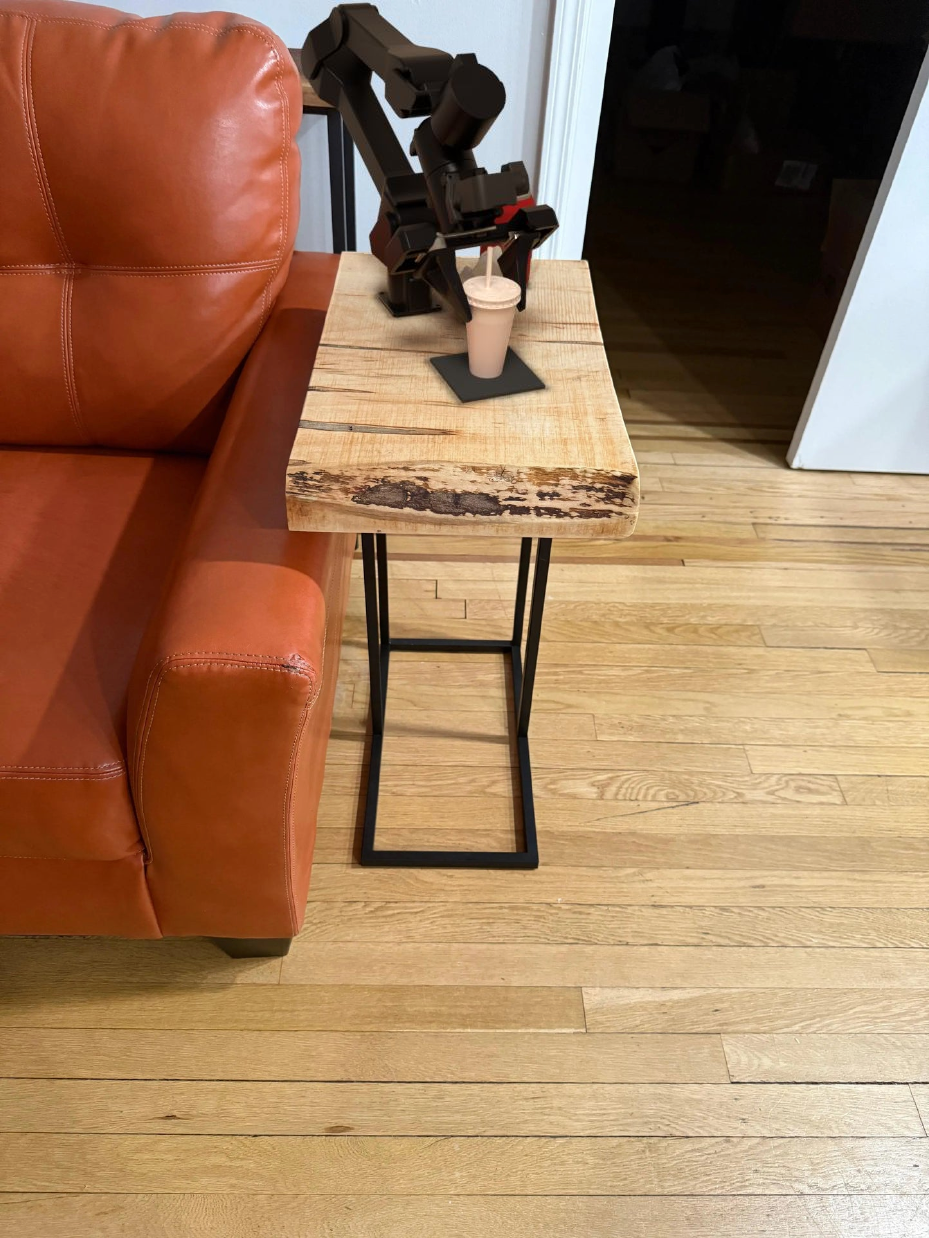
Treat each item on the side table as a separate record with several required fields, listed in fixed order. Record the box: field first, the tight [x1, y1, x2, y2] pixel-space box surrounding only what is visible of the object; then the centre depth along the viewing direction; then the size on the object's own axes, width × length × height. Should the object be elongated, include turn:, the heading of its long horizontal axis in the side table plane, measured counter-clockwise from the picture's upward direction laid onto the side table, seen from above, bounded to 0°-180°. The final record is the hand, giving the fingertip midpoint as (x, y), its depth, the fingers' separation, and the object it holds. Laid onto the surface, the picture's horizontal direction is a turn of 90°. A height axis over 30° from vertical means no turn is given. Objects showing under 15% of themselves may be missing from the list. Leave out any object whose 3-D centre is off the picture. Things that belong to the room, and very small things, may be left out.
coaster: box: [429, 345, 546, 403], centre depth 104 cm, size 10×10×1 cm
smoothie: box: [463, 247, 521, 378], centre depth 99 cm, size 6×6×14 cm
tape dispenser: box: [459, 246, 503, 285], centre depth 112 cm, size 6×7×10 cm
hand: (496, 316), depth 98 cm, fingers closed on smoothie, 6 cm apart
